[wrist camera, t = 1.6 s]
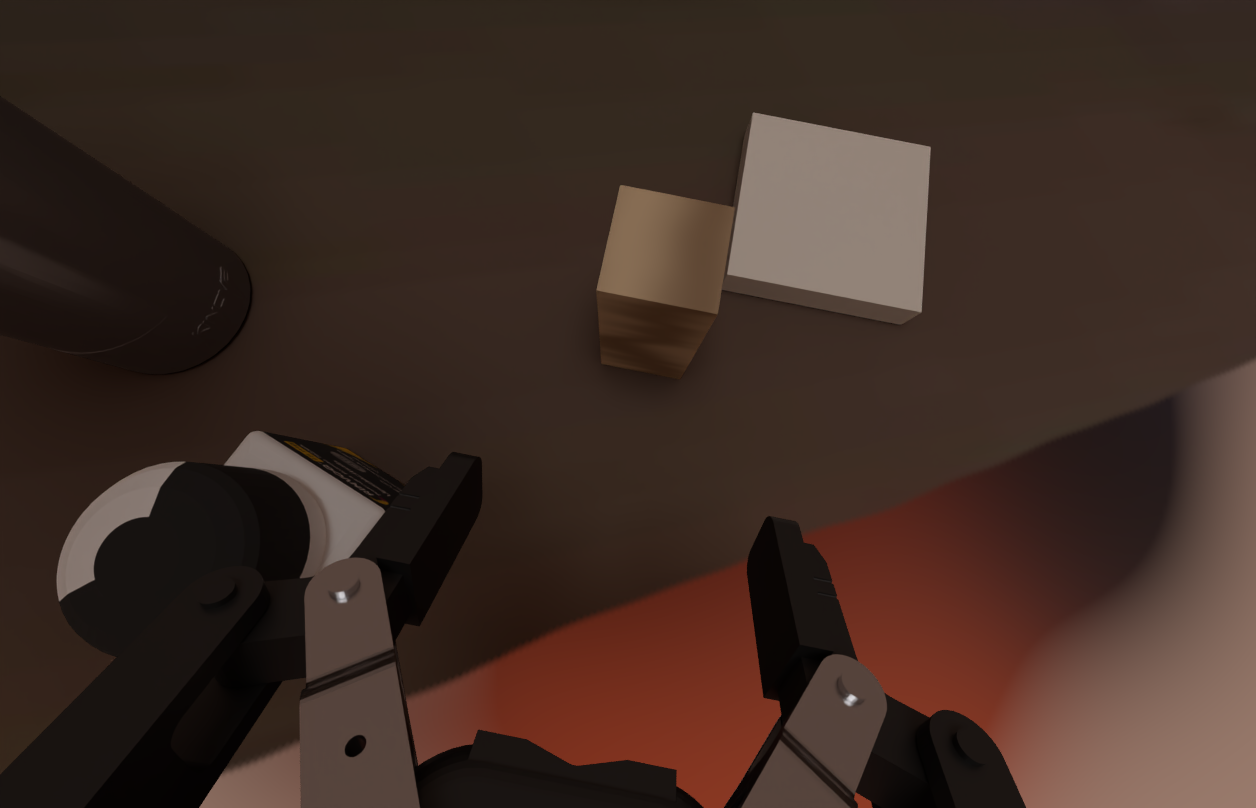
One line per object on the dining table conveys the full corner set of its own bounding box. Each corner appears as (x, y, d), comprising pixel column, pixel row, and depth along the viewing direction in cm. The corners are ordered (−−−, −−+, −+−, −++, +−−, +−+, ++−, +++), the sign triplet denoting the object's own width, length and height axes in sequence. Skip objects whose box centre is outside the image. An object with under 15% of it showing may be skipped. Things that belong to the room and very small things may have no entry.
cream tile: (719, 289, 29) (727, 274, 27) (744, 136, 32) (753, 112, 30) (900, 324, 29) (921, 312, 27) (910, 168, 32) (930, 147, 30)
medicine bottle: (446, 509, 26) (308, 516, 14) (368, 626, 24) (143, 741, 13) (345, 446, 26) (132, 401, 15) (263, 556, 25) (-45, 605, 13)
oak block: (601, 363, 28) (596, 290, 18) (617, 291, 29) (620, 185, 19) (680, 379, 28) (717, 314, 18) (693, 306, 29) (734, 207, 19)
